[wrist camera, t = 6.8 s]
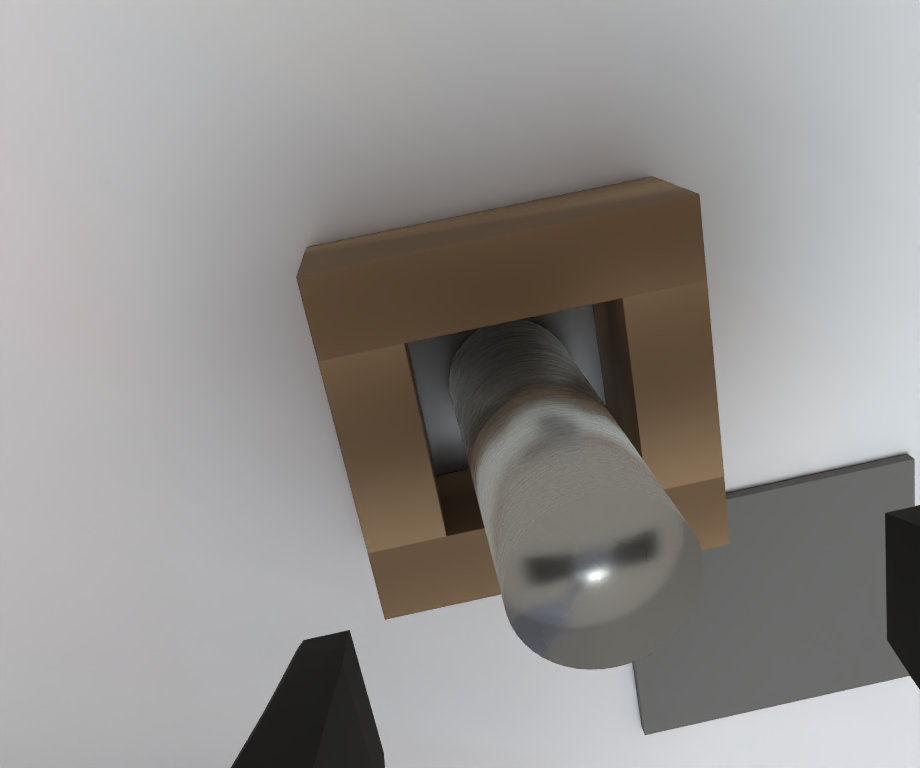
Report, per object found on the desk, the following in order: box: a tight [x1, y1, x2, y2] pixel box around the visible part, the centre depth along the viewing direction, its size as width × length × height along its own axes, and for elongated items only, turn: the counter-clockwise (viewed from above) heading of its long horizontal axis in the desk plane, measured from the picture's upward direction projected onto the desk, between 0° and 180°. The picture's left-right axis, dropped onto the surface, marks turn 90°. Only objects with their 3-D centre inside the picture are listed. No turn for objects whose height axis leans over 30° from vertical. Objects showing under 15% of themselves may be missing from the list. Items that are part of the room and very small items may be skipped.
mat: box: [633, 454, 915, 735], centre depth 24 cm, size 7×8×1 cm
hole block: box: [296, 177, 730, 619], centre depth 20 cm, size 8×8×3 cm
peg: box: [449, 320, 704, 669], centre depth 17 cm, size 3×3×9 cm
